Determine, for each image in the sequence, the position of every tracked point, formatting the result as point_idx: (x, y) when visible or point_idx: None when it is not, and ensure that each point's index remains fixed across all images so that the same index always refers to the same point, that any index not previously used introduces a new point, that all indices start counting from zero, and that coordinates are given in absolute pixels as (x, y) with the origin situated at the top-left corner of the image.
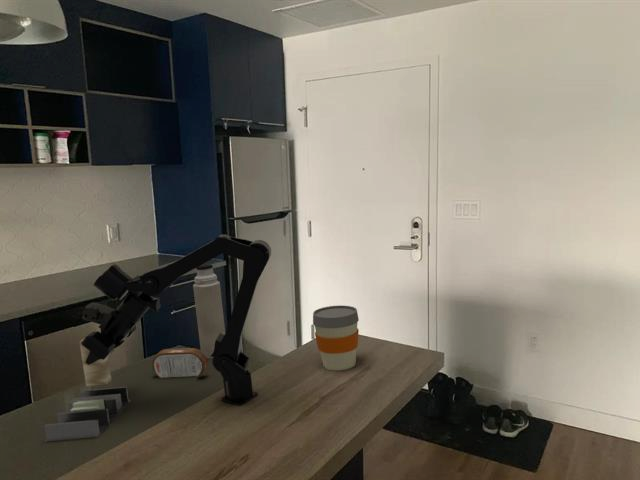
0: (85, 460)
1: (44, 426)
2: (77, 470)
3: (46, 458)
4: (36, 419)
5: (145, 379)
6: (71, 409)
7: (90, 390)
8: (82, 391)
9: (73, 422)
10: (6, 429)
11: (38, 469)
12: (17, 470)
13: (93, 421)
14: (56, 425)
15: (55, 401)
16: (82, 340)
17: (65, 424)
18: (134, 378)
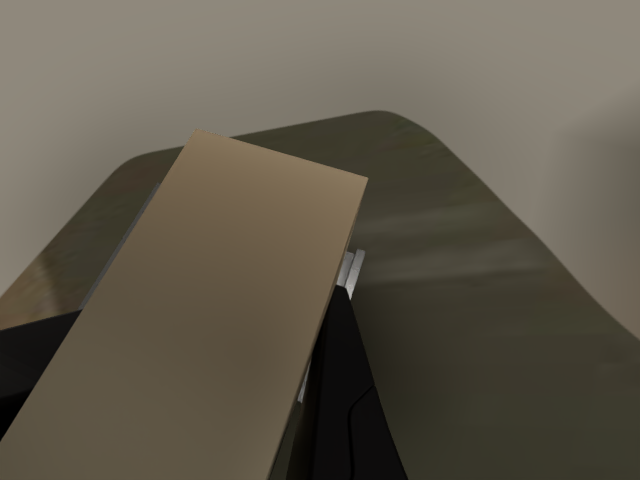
0: (61, 288)
1: (158, 183)
2: (33, 276)
3: (133, 212)
4: (347, 164)
5: (524, 468)
6: None
7: (348, 279)
8: (356, 253)
9: (117, 250)
10: (326, 120)
11: (99, 205)
12: (125, 171)
13: (80, 306)
14: (141, 210)
15: (442, 187)
16: (234, 165)
17: (127, 231)
18: (551, 420)
